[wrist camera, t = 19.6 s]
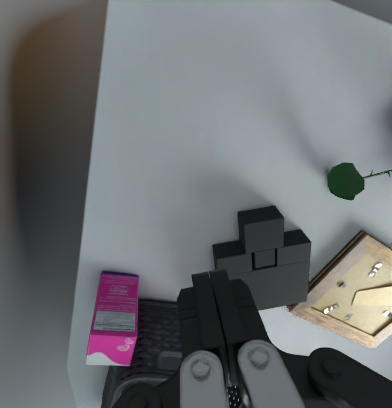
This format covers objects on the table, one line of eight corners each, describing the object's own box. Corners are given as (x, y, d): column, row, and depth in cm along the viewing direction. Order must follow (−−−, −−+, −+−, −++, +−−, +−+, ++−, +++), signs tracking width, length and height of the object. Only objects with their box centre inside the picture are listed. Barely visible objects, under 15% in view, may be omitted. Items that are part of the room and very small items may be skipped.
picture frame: (441, 281, 56) (361, 229, 47) (449, 288, 54) (368, 236, 46) (368, 342, 62) (286, 305, 54) (373, 350, 60) (290, 313, 52)
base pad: (219, 301, 51) (223, 317, 48) (212, 244, 45) (216, 259, 42) (298, 286, 52) (307, 301, 49) (301, 229, 46) (311, 242, 43)
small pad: (240, 255, 47) (246, 269, 44) (237, 211, 43) (244, 224, 40) (274, 249, 47) (283, 263, 44) (275, 205, 43) (284, 217, 40)
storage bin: (192, 403, 64) (200, 483, 52) (100, 399, 60) (87, 486, 48) (237, 308, 52) (261, 384, 41) (127, 294, 48) (118, 375, 36)
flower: (340, 193, 50) (441, 169, 42) (347, 264, 39) (482, 248, 32) (310, 120, 43) (423, 76, 36) (308, 181, 33) (467, 137, 25)
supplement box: (134, 301, 49) (129, 368, 39) (97, 297, 47) (82, 366, 37) (140, 274, 46) (137, 338, 36) (101, 269, 45) (86, 335, 35)
